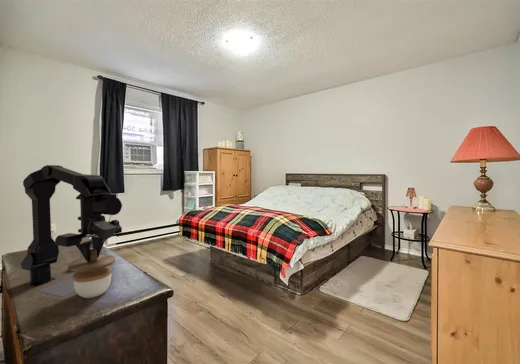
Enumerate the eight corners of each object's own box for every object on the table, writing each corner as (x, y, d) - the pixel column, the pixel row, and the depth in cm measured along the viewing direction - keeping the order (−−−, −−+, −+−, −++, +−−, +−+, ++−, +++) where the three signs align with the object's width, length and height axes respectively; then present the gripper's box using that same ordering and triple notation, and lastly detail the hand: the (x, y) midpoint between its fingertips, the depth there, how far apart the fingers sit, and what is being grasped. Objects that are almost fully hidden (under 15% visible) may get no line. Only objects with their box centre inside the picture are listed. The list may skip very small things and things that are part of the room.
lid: (57, 268, 77) (57, 253, 77) (97, 255, 89) (96, 242, 89) (87, 274, 73) (86, 258, 72) (124, 259, 85) (123, 246, 85)
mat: (38, 292, 83) (38, 290, 83) (75, 277, 94) (75, 276, 94) (62, 298, 79) (62, 296, 79) (97, 282, 90) (97, 281, 90)
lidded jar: (105, 284, 89) (105, 258, 88) (117, 293, 82) (116, 266, 82) (69, 295, 81) (68, 267, 80) (78, 307, 74) (78, 276, 73)
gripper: (79, 220, 69) (80, 274, 69) (133, 210, 86) (133, 253, 87) (53, 217, 72) (54, 268, 73) (109, 208, 90) (110, 250, 91)
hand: (92, 259), depth 81 cm, fingers closed on lid, 3 cm apart
